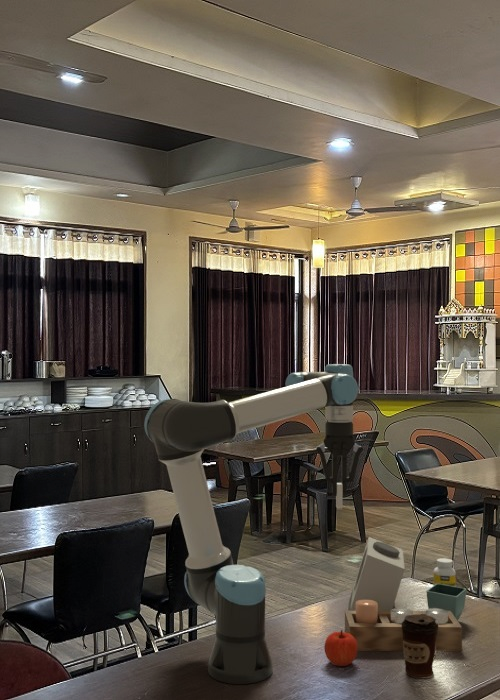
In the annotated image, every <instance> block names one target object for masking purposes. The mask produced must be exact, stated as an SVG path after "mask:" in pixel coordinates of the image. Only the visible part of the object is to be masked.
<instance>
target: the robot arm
mask: <svg viewBox="0 0 500 700" xmlns="http://www.w3.org/2000/svg"><path fill="white" fill-rule="evenodd" d="M324 368H325V369H324V371H299V372H291V373H290V374H289V375H288V376H287V377H286V379H285V383H284V384H285V386H284V387H279V388H275V389H273V390H272V389H271V390H269V391H266V392H261V393H257V394H255V395H250V396H247V397H244V398H240V399H235V400H233V401H229V402H228V401H226V400H225V399H220V400H216V401H210V402H194V401H185V400H180V399H178V398H177V399H176V398H168V399H167V398H166V399H162V400H159V401H157V402H155V404H153V405H152V406H151V407H150V408H149V409H148V411H147V413H146V415H145V418H144V424H143V425H144V427H143V428H144V431H145V434H146V436H147V437H148V438H149V440H150V442H152V444H154V448H155V451H156V455H157V459H158V461H159V462H161V463H163V464H165V465H166V469H167V472H168V477H169V481H170V484H171V489H172V492H173V496H174V500H175V503H176V507H177V512H178V515H179V520H180V524H181V528H182V532H183V535H184V539H185V543H186V548H187V551H188V556H187V558H186V559H185V562H184V563H185V564H184V565H185V568H186V572H185V573H184V576H183V577H184V581H183V583H184V587H185V590H186V592H187V595H188V596H189V597H190V599H192V601H194V602H195V604H197V605H198V606H200V607H201V608H204V609H206V610H207V611H208V612H210V613H211V614H213V615H214V616H215V640H214V641H213V642H214V643H213V646H212V649H211V652H210V655H209V659H208V663H207V664H208V668H207V670H208V675H209V676H210V677H211V678H212V679H214V680H216V681H219V682H222V683H226V684H232V685H247V684H254V683H258V682H261V681H262V682H263V681H264V680H267V679H268V678H269V677H270V676H272V673H273V671H274V669H273V667H274V666H273V658H272V656H271V652H270V649H269V646H268V642H267V639H266V595H267V589H266V580H265V577H264V574H263V573H262V572H261V571H260V570H258V568H257V569H256V568H255V567H252V566H246V565H243V564H234V561H233V557H232V556H233V555H232V552H231V550H230V549H229V548H228V547H226V546H224V544H223V541H222V538H221V533H220V529H219V525H218V522H217V521H218V520H217V517H216V514H215V509H214V506H213V505H214V504H213V501H212V498H211V493H210V489H209V486H208V482H207V481H208V480H207V477H206V473H205V469H204V464H203V461H202V457H201V456H202V453H203V452H204V450H205V449H207V448H211V447H214V446H216V445H219V444H223V443H225V442H229V441H233V440H234V439H235V438H236V436H237V435H238V434H240V433H244V432H246V431H247V432H248V431H252V430H254V429H257V428H260V427H264V426H267V425H270V424H273V423H276V422H279V421H284V420H287V419H289V418H293V417H296V416H299V415H303V414H306V413H310V412H313V411H316V410H319V409H323V408H325V410H324V411H325V420H327V421H326V422H325V424H324V425H325V429H324V430H325V433H324V434H325V435H324V436H325V437H324V439H323V442H322V443H321V444H320V445H316V446H315V450H316V451H317V453H318V455H319V458H320V462H321V466H322V470H323V474H324V478H325V481H326V482H327V483H331V494H332V496H335V507H336V509H341V510H342V509H343V507H344V506H343V499H344V496H347V492H348V491H347V486H348V485H347V484H348V483H351V482H353V481H354V480H355V475H356V471H357V467H358V463H359V457H360V455H361V454H362V452H363V451H364V448H363V447H362V446H361V445H359V444H357V443H356V440H355V438H354V422H353V420H354V401H355V400H356V399H357V396H358V393H359V386H358V382H357V380H356V379H355V377H354V370H353V369H354V368H353V366H352V365H351V364H347V363H346V364H345V363H344V364H343V363H341V364H340V363H333V364H331V363H330V364H326V366H325V367H324ZM326 448H327V451H329V453H330V454H331V476H330V472H329V467H328V464H327V463H328V462H327V459H326V456H325V451H326ZM352 449H353V452H354V453H353V455H352V460H351V465H350V468H349V471H348V468H347V467H348V465H347V463H348V462H347V461H348V454H349V453H351V451H352ZM339 455H340V457H341V467H340V468H341V469H340V470H341V471H340V472H341V475H340V476H341V477H340V478H341V482H338V456H339ZM347 471H348V472H347Z"/></svg>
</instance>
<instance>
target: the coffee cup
mask: <svg viewBox="0 0 500 700" xmlns="http://www.w3.org/2000/svg"><path fill="white" fill-rule="evenodd" d="M435 621H436V619H435V618H433V617H431V616H428V615H418V614H417V615H407V616H405V618H404V621H403V622H402V633H403V651H402V653H403V658H404V664H405V665H404V666H405V669H404V671H405V673H406V675H408V676H410V677H413V678H418V679H428V678H432V677H433V676H434V675H435V674H434V671H433V664H434V659H435V657H436V652H437V651H436V637H437V632H438V624H437V623H435Z"/></svg>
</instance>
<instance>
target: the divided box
mask: <svg viewBox="0 0 500 700" xmlns="http://www.w3.org/2000/svg"><path fill="white" fill-rule="evenodd" d="M411 611H412V612H413V615H417V614H418V615H426V610H411ZM447 612H448V624H438V632H437V637H436V651H435V652H462V651H463V627H462V625H461V624H460V622H459V620H458V621H457V619H456V618H455V617H454V615H453V614H452V612H451V611H447ZM344 632H345V633H349V634H351V635H352V636H353V637H354V638H355V640H356V642H357V645H358V651H360V652H361V651H371V652H372V651H373V652H374V651H375V652H376V651H378V652H380V651H381V652H385V651H386V652H387V651H388V652H393V651H394V652H395V651H397V652H398V651H400V652H403V633H402V623H391V611H378V623H356V611H351V610H348V609H347V610H344Z"/></svg>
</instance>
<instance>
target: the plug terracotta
mask: <svg viewBox="0 0 500 700" xmlns="http://www.w3.org/2000/svg"><path fill="white" fill-rule="evenodd" d="M356 623H378V603H377V602H375V601H373V600H358V601H356Z"/></svg>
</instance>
